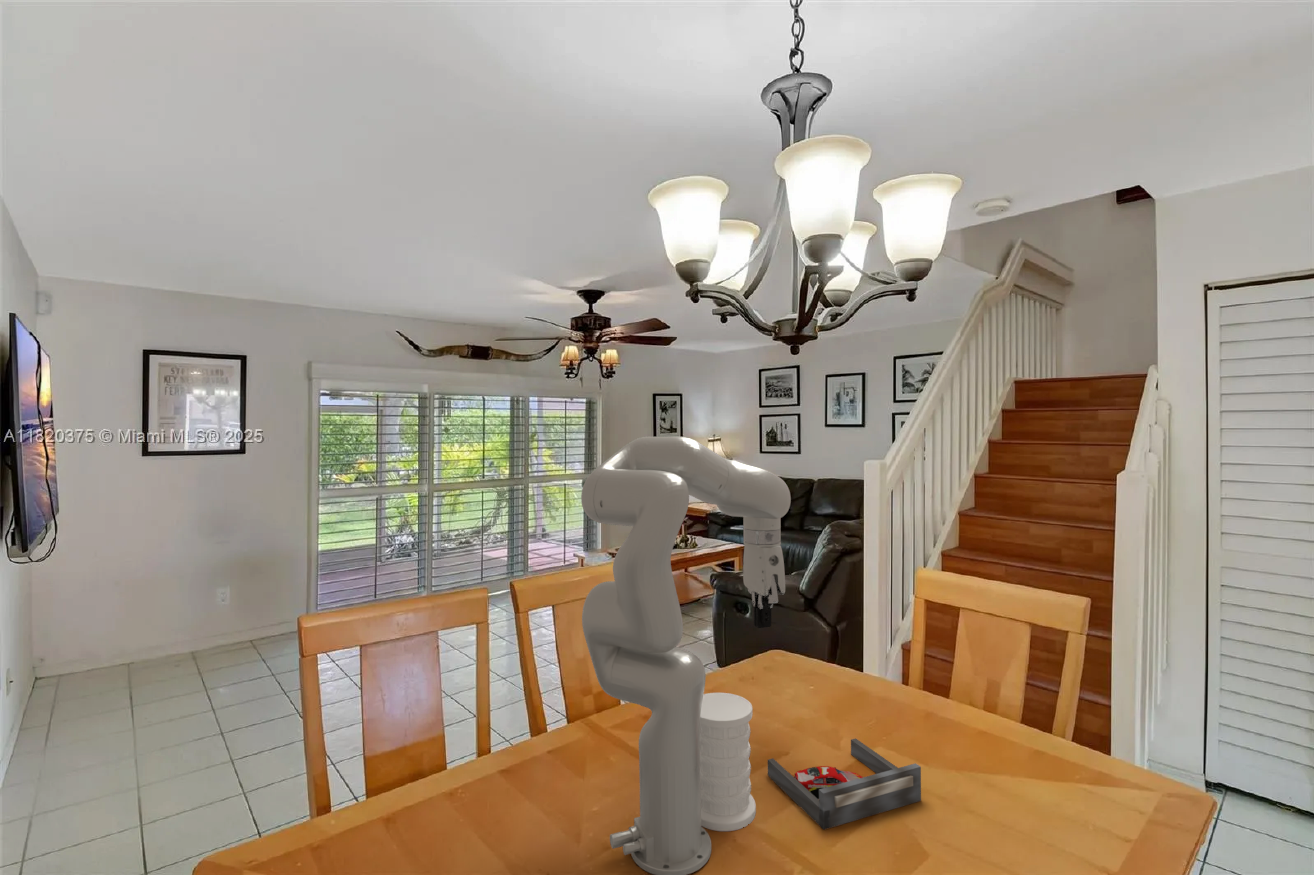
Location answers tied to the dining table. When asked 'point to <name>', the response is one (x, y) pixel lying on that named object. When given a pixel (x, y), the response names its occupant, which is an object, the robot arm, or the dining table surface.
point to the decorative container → (725, 762)
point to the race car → (823, 778)
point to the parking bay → (854, 790)
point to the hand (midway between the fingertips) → (762, 626)
